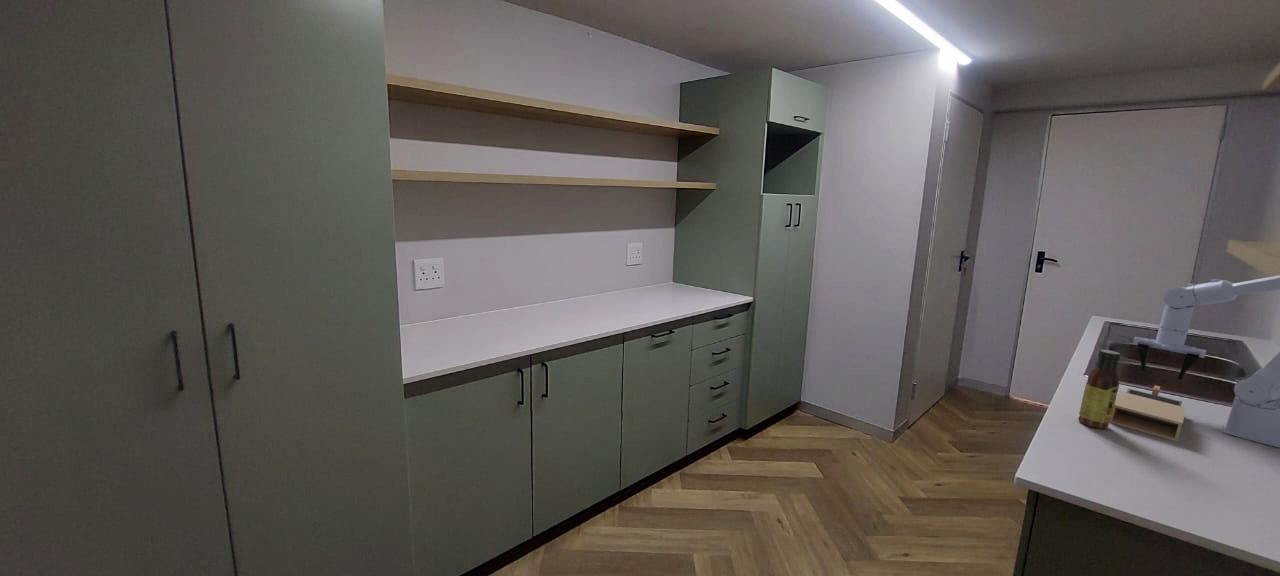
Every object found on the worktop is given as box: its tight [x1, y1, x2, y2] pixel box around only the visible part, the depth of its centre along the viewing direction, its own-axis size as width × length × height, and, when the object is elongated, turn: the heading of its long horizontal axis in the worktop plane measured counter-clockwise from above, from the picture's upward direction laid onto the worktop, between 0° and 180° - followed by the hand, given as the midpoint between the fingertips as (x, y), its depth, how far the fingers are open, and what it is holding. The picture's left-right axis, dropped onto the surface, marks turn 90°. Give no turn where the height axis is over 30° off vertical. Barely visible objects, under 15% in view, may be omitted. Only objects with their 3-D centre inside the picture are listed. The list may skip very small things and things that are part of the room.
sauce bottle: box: [1078, 349, 1121, 429], centre depth 135 cm, size 7×6×20 cm
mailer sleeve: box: [1109, 391, 1187, 443], centre depth 138 cm, size 15×13×5 cm
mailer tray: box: [1119, 385, 1183, 427], centre depth 146 cm, size 20×11×4 cm, turn 132°
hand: (1160, 374), depth 150 cm, fingers open, 7 cm apart
